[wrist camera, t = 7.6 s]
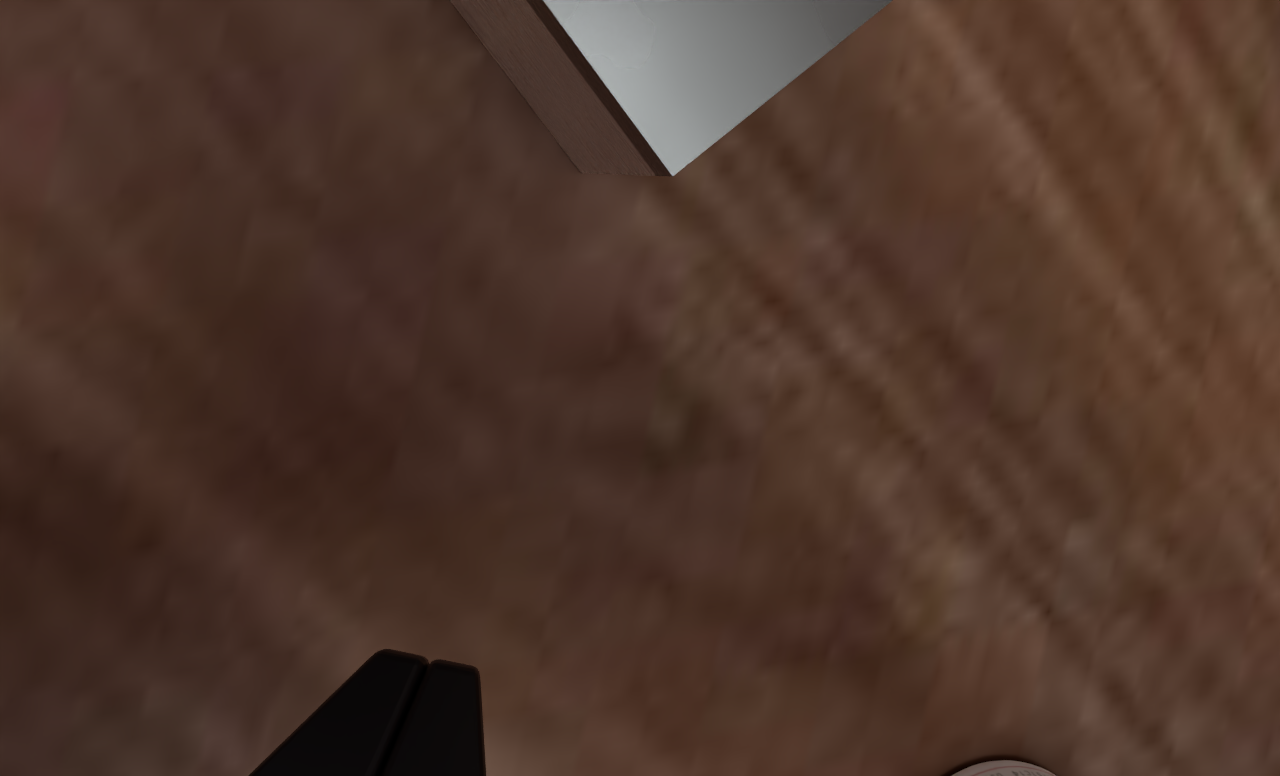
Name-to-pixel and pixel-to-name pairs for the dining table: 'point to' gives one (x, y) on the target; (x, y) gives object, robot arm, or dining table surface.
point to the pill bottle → (1004, 769)
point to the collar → (654, 68)
